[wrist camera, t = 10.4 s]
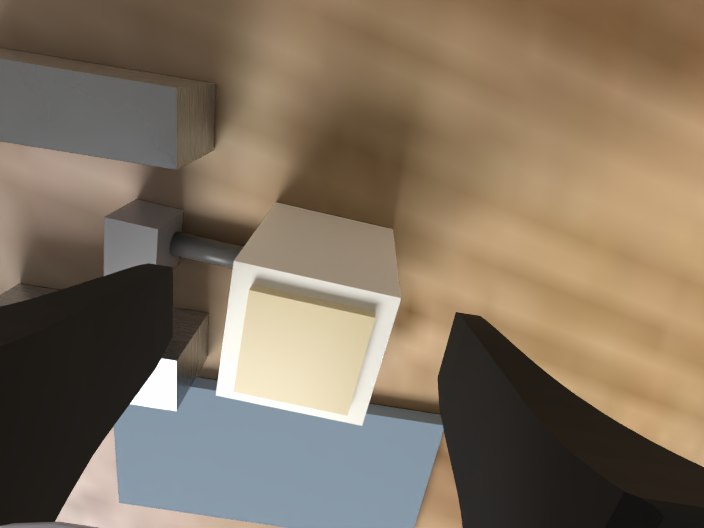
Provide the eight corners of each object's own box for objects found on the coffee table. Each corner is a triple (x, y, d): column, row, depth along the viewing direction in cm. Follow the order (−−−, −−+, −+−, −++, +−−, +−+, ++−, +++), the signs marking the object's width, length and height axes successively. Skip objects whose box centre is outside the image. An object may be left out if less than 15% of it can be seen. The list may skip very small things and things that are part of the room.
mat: (125, 491, 21) (119, 503, 20) (118, 365, 18) (110, 374, 18) (407, 533, 21) (408, 545, 21) (442, 415, 18) (444, 425, 18)
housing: (25, 329, 18) (-39, 378, 15) (-18, 45, 14) (-116, 39, 11) (206, 357, 18) (176, 411, 15) (216, 83, 14) (176, 87, 11)
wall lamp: (133, 277, 17) (33, 365, 12) (137, 170, 15) (24, 220, 10) (365, 328, 17) (361, 434, 12) (392, 229, 15) (401, 304, 11)
